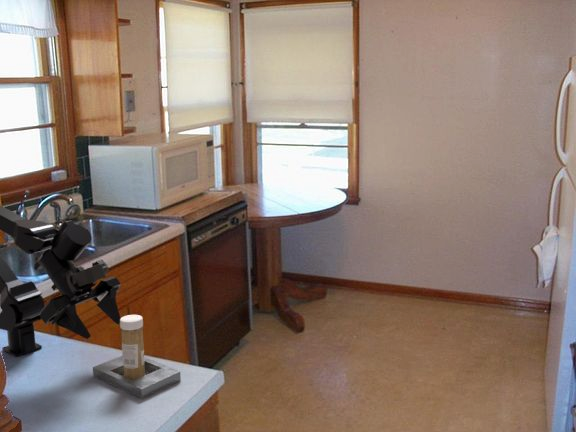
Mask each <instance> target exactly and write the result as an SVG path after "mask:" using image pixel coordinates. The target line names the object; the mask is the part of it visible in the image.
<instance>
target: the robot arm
mask: <svg viewBox="0 0 576 432" xmlns="http://www.w3.org/2000/svg"><path fill="white" fill-rule="evenodd" d="M0 232H3V233H4V234H6V235H8V236H10V237H11V238H12V239H13V242H14V244H15V245H16V246H17V247H18V248H19V249H20V250H21V251H23V252H24V253H25V254H27V255H32V254H33V255H34V254H37V253H40V252H43V253H42V254H41V255H40V256H36V257H35V262H34V267H33V269H34V271H38V270H41V269H43V271H44V272H45V273H46V275H47V276H48V277H49V279H50V280H51V282H52V283H53V284H52V285H51V287H50V288H51V289H52V290H53V291H57V290H58V292H59V293H60V294H61V295H59V296H55V297H53V298H50V299H49V301H48V302H47V303H45V300H44V297H43V296H42V294H43V292H41V291H40V290H39V289H38V288H37V286H36V284H35V283H34V282H33V281H31V280H29V281H27V282H24V281H21V280H20V279H19V278H18V277H17V275H16V274H15V272H13V269H12V268H11V267H10V266H9V264H8V263H7V262H6V260H5V259H4V257H3V256H2V255H1V254H0V309H1V311H0V330H4V331H6V333H7V344H8V345H6V346H3V347H2V351H3V352H6V353H8V354H9V355H12V356H14V357H20V356H22V355H26V354H29V353H31V352H34V351H36V350H40V349H42V348H43V345H41V344H39V343H37V342H36V333H35V326H34V325H35V324H34V323H36V322H38V321H41V320H42V321H43V323H44V325H47V324H50V323H51V325H52V326H58V327H61V328H64V329H66V330H67V331H70V332H71V333H74V334H75V335H78V336H79V337H81V338H84V339H85V340H89V339H90V338H91V333H90V332H89V330H88V328H87V327H86V325H85V324H84V323H83V321H82V320H81V318H80V316H79V315H78V313H77V306H78V305H80V304H82V303H85V302H88V301H90V300H93V302H97V304H96V306H97V307H98V308H99V309H100V310H101V311H102V312H103V313H104V314H105V315H106V316H107V317H108V318H109V319H110V320H112V321H113V322H114V323H115V324H117V325H120V319H121V318H122V317H121V314H120V312H119V308H118V304H117V298H116V297H117V293H118V292H119V290H120V286H122V283H121V281H119V279H118V277H116V276H115V277H114V276H110V277H107V275H106V274H108V273H109V271H110V269H109V266H108V264H107V263H106V261H104V259H99V260H96V261H94V262H92V263H91V265H92V266H89V267H87V268H84V267H83V266H81V265H80V266H76V264H75V263H74V262H73V261H75V260H77V259H78V258H79V256H80V255H81V254H82V253H83V252H84V250H85V249H86V248H87V247H88V246H89V244H90V243H91V242H92V239H93V238H92V235H91V232H90V231H89V230H88V229H87V228H86V227H84V226H82V225H80V224H77V223H74V221H73V220H71V219H70V220H67V221H64V222H63V223H62V224H61V226H60V228H59V229H58V228H56V227H55V226H54V225H53V224H52V223H48V222H44V221H41V220H34V219H27V218H25V217H24V216H21V215H19V214H17V213H15V212H14V211H12V210H11V209H8V208H7V207H5V206H2V205H1V204H0ZM101 279H102V280H101ZM98 280H99V282H98V284H97V281H98ZM95 285H96V286H95ZM93 287H94V288H93ZM92 288H93V289H92Z"/></svg>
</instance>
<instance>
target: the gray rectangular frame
mask: <svg viewBox="0 0 576 432" xmlns="http://www.w3.org/2000/svg"><path fill="white" fill-rule="evenodd" d="M144 361H145V362H144V367H145V371H148V372H149V373H148V374H145V376H143V377H141V378H138V379H136V380H134V381H132V380H130V379H128V378H125V377H124V368H123V357H122V355H120V356H117V357H115V358H113V359H110V360H108V361H105V362H102V363H100V364H98V365H95V366H92V376H93V377H94V376H95V377H94V378H96V377H97V378H96V379H98V378H99V380H100V381H103V382H105V383H107V382H108V383H107V384H109V385H112V386H114V387H115V388H118V389H120V390H122V391H124V392H126V393H129V394H130V395H133V396H135V397H137V398H140V399H142V400H143V399H145V398H147V397H149V396H152V395H154V394H155V393H158V392H160V391H161V390H163V389H166V388H168V387H170V386H172V385H175V384H176V383H179V382H180V381H182V380H181V378H182V377H181V371H180V370H178V369H175V368H172V367H170V366H168V365H165V364H162V363H161V362H158V361H156V360H154V359H150V358H148V357H145V356H144ZM122 374H123V375H122Z"/></svg>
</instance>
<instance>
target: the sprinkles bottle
mask: <svg viewBox="0 0 576 432" xmlns="http://www.w3.org/2000/svg"><path fill="white" fill-rule="evenodd" d="M120 318H121V319H120V324H119V326H120V327H119V328H120V330H121V333H120V334H121V353H122V355H121V356H122V357H123V368H124V374H123V377H125V378H128V379H130V380H132V381H134V380H136V379H138V378H141V377H143V376H145V375H146V370H145V367H144V362H145V361H144V357H145V349H144V345H145V344H144V338H143V337H144V335H143V334H144V333H143V328H144V327H143V326H144V320H143V316H142V315H138V314H128V315H124V316H122V317H120Z"/></svg>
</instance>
